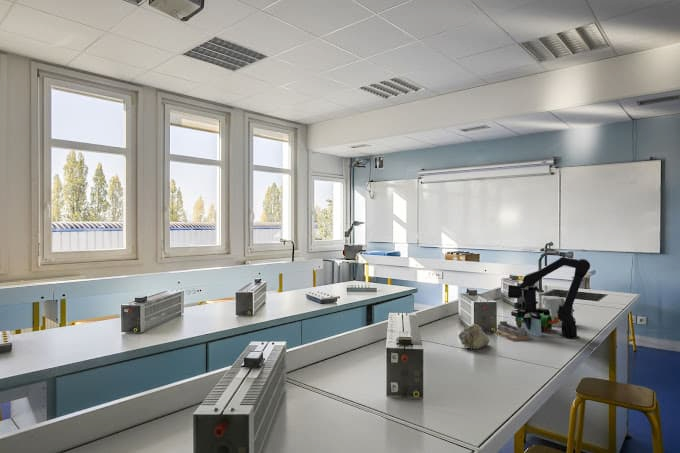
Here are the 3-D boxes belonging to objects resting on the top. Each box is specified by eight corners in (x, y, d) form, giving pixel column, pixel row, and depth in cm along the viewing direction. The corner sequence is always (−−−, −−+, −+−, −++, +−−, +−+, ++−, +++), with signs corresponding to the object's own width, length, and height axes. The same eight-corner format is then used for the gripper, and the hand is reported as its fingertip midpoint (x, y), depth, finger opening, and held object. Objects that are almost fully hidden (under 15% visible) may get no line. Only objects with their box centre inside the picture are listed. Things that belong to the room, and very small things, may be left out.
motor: (514, 327, 218) (554, 333, 204) (515, 310, 219) (555, 315, 205) (521, 326, 225) (561, 332, 211) (522, 310, 226) (561, 315, 212)
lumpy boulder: (497, 351, 184) (475, 345, 177) (476, 355, 192) (455, 349, 185) (493, 326, 190) (472, 320, 182) (474, 331, 198) (453, 325, 191)
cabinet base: (530, 339, 196) (530, 327, 197) (512, 341, 194) (512, 329, 195) (506, 329, 216) (505, 319, 216) (489, 331, 214) (488, 320, 214)
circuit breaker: (576, 325, 220) (575, 298, 220) (550, 326, 220) (549, 298, 221) (569, 322, 228) (568, 295, 228) (543, 323, 228) (542, 296, 228)
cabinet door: (541, 336, 201) (540, 320, 201) (535, 336, 200) (535, 320, 201) (525, 330, 213) (525, 315, 213) (520, 331, 212) (519, 315, 212)
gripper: (535, 295, 217) (536, 324, 217) (504, 297, 213) (505, 327, 213) (550, 298, 206) (551, 329, 206) (517, 301, 202) (518, 332, 202)
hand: (531, 329), depth 207 cm, fingers closed on cabinet door, 2 cm apart
